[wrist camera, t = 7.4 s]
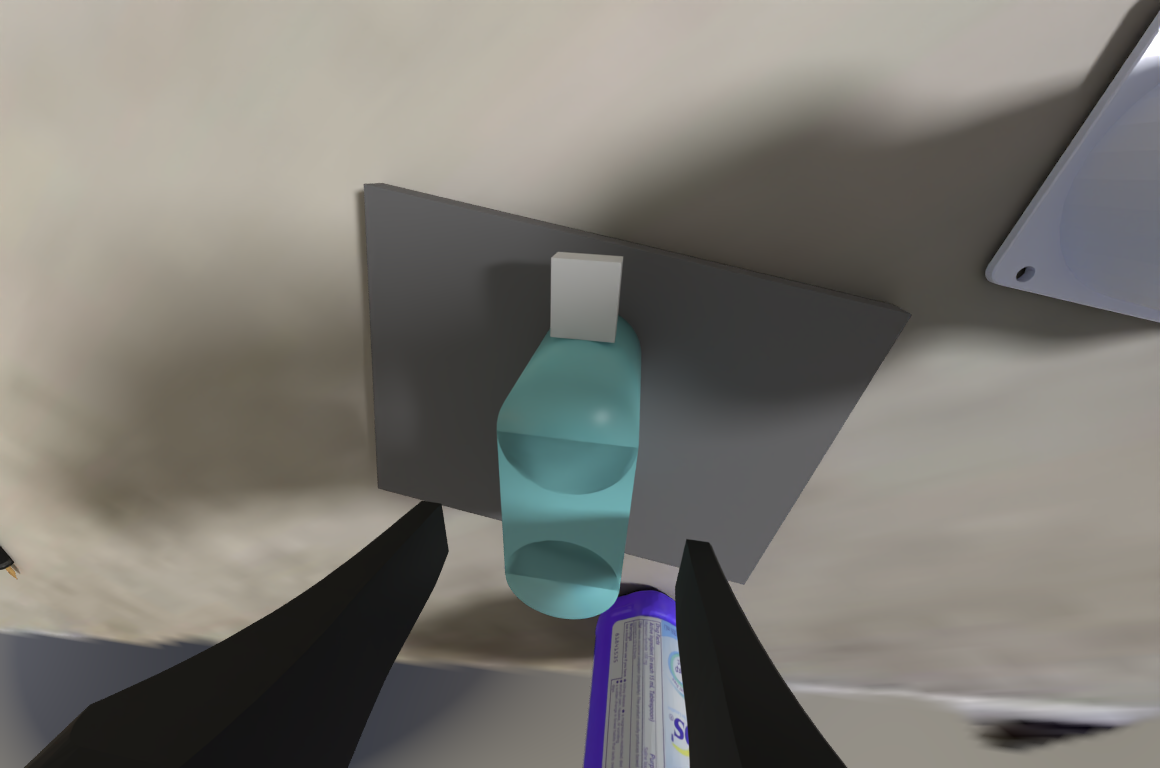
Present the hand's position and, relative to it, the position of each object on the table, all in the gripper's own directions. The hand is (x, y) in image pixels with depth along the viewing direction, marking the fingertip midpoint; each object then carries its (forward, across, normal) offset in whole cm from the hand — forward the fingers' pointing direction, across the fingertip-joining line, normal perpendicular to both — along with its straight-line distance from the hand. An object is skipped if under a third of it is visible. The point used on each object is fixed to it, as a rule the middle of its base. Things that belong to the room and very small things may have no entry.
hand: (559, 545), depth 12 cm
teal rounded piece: (+7, 0, -1) cm, 7 cm away
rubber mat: (+8, 0, 0) cm, 8 cm away
